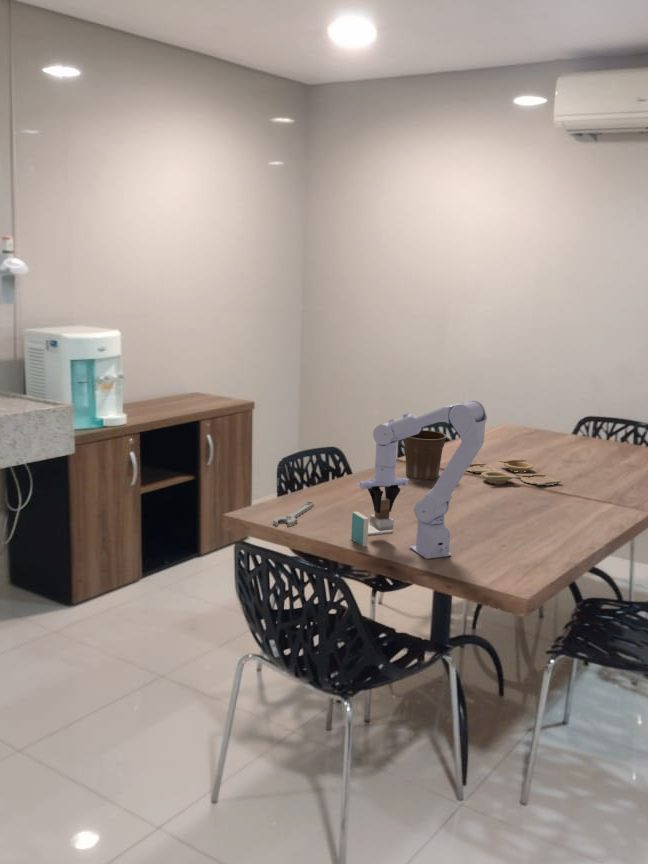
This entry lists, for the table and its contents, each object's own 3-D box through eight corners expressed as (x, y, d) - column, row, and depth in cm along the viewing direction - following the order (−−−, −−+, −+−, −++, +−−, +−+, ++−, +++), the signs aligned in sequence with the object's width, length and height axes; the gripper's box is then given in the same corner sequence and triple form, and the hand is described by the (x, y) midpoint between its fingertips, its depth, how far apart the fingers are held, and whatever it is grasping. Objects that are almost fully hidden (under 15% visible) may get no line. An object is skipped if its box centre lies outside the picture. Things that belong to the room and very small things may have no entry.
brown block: (393, 529, 238) (394, 501, 236) (379, 531, 236) (381, 502, 234) (383, 523, 243) (384, 495, 241) (369, 524, 241) (371, 496, 240)
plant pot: (438, 484, 304) (441, 440, 301) (395, 478, 309) (398, 435, 306) (447, 474, 319) (450, 432, 316) (406, 469, 324) (409, 428, 321)
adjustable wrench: (307, 505, 272) (307, 500, 272) (325, 508, 270) (325, 503, 269) (270, 525, 250) (270, 519, 250) (289, 529, 247) (289, 523, 247)
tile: (367, 545, 234) (368, 518, 233) (362, 546, 234) (363, 519, 232) (356, 538, 241) (357, 511, 239) (351, 538, 240) (352, 511, 238)
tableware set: (566, 488, 307) (567, 478, 306) (492, 490, 300) (493, 479, 299) (522, 465, 340) (523, 455, 339) (455, 466, 333) (455, 456, 332)
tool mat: (393, 532, 247) (393, 530, 247) (366, 535, 243) (366, 533, 243) (378, 523, 255) (378, 521, 255) (352, 526, 251) (352, 524, 251)
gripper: (400, 460, 242) (397, 505, 245) (355, 463, 236) (353, 509, 239) (413, 466, 236) (410, 512, 239) (367, 469, 230) (364, 516, 233)
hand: (382, 511), depth 239 cm, fingers closed on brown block, 3 cm apart
